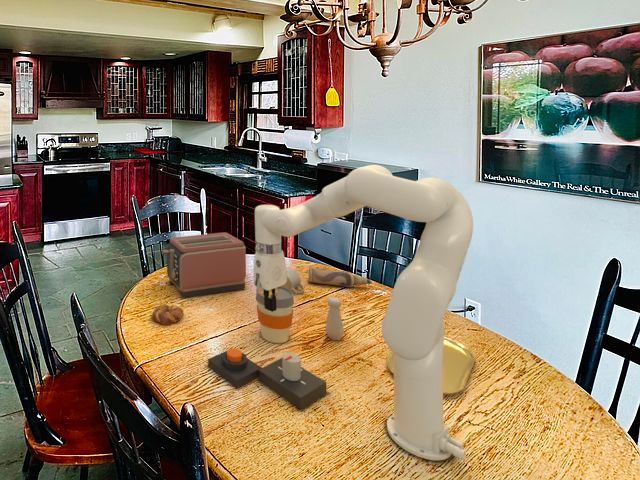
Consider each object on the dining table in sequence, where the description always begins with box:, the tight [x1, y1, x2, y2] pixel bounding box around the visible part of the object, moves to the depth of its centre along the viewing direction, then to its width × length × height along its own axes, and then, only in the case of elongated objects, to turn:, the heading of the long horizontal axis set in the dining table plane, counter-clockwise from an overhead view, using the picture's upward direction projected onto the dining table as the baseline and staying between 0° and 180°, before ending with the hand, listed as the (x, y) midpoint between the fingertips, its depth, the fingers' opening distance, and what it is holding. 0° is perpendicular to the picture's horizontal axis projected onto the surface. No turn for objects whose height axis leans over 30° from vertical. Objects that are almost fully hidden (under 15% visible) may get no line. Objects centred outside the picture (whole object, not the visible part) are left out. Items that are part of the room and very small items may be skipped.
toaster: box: [162, 231, 247, 299], centre depth 177 cm, size 19×36×21 cm, turn 107°
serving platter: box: [385, 336, 476, 396], centre depth 119 cm, size 19×35×2 cm, turn 134°
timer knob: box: [281, 351, 302, 381], centre depth 109 cm, size 5×5×5 cm
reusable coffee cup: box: [255, 286, 295, 344], centre depth 135 cm, size 13×13×15 cm
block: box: [207, 350, 262, 389], centre depth 116 cm, size 12×10×4 cm
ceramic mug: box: [282, 268, 305, 295], centre depth 172 cm, size 11×8×8 cm
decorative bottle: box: [308, 266, 372, 289], centre depth 177 cm, size 26×8×7 cm, turn 71°
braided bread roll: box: [151, 304, 184, 326], centre depth 148 cm, size 12×11×4 cm
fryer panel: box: [258, 357, 327, 410], centre depth 109 cm, size 14×11×3 cm
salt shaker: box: [324, 296, 345, 341], centre depth 134 cm, size 6×6×13 cm
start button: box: [226, 347, 243, 362], centre depth 116 cm, size 4×4×2 cm
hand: (270, 309), depth 118 cm, fingers closed
